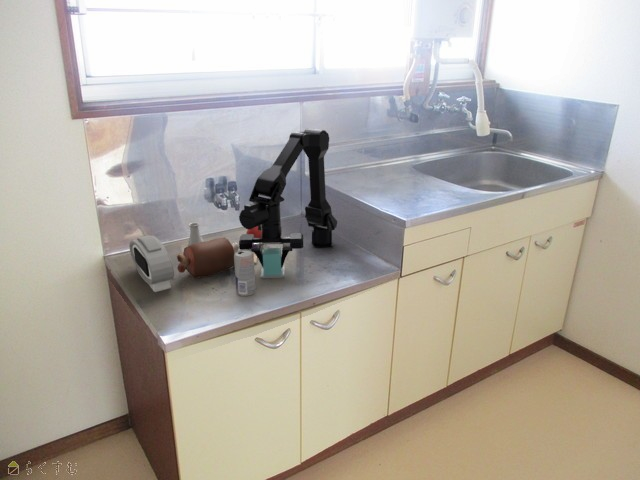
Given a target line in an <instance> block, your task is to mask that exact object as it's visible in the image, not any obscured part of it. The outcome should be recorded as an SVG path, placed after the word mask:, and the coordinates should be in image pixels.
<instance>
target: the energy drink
mask: <svg viewBox="0 0 640 480" xmlns="http://www.w3.org/2000/svg"><path fill="white" fill-rule="evenodd" d="M253 254H254V252H252V251H251V249H250V250H246V249H245V250H241V249H238V251H236V252H235V255H234V264H235V265H234V273H235V275H234V276H235V277H234V278H235V290H236V294H237V295H238V296H241V297H249V296H252V295H254V294H255V293H256V289H257V288H256V274H255V272H256V271H255V264H254V255H253Z"/></svg>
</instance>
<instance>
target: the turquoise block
mask: <svg viewBox="0 0 640 480" xmlns="http://www.w3.org/2000/svg"><path fill="white" fill-rule="evenodd" d="M262 251H263V270H264V275H281V271H282V268H281V257H282V247H281V246H280V247H278V246H277V247H263V249H262Z"/></svg>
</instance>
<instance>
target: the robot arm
mask: <svg viewBox="0 0 640 480" xmlns="http://www.w3.org/2000/svg"><path fill="white" fill-rule="evenodd" d="M329 145H330V135H329V132H327V131H326V130H324V129H315V128H306V129H304V130H303V131H293V132H291V133H290V134H289V137H288V140H287V142H286V143H285V145H284V146H283V148H282V150H281V151H280V152H279V155H278V156H277V157H276V160H275V161H274V163H273V164H272V165H271V167H269V168H268V169H267V168H266V169H265V170H264V171H262V173H261V174H260V175H259V176H258V177H257V178H256V181H255V183H254V186H253V188H252V191H251V194H250V197H249V199H248V201H249V202H251V203H246V204H244V206H243V208H244V209H242V210H241V211H240V213H239V216H238V219H239V222H240V224H241V226H242V227H243V228H244V229H246V230H248V229H253V228H255V227H257V226H258V230H261V232H262V238H254V234H246V233H245V234H244V233H242V234H241V236H240V237H239V241H238V246H239V249H238V250H245V249H246V250H251V251H252V252H253V254H256V256H257V257H258V258H257V260H258V261H259V263H260V264H261V268H262V267H263V245H282V247H281V268H282V267H283V266H284V263H285V261H286V258H287V256H288V254H289V252H293V249H303V248H304V235H303V234H302V233H299V232H294V233H292V232H291V233H289V236H283V237H282V234H283V233H282V222H281V221H282V220H281V218H282V217H281V203H282V202H284V201H285V198H284V197H283V196H282V195H283V192H284V190H285V189H286V186H287V176H288V174H289V172H290V171H291V170H292V168H293V166H294V164H295V162H296V161H297V159H298V158H299V156H300V155H301V153H302V152H304V154H305V155H306V157H307V159H308V161H307V162H308V174H309V177H308V179H309V194H310V201H309V202H308V204H307V206H304V207H305V208H304V211H305V215H304V218H305V219H306V223H307V225H308V227H310V228H313V229H311V231H310V232H311V244H312V247H313V248H327V247H328V248H332V247H333V231H335V230H336V228H337V226H338V225H337V224H338V220H337V219H336V218H335V216H334V215H333V212H332V208H331V207H332V206H331V205H330V204H329V202H328V201H327V198H326V197H327V196H326V195H327V194H326V177H325V176H326V175H325V174H326V173H325V171H326V170H325V156H326V154H327V152H328V150H329V147H330V146H329Z"/></svg>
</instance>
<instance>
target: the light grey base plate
mask: <svg viewBox="0 0 640 480" xmlns="http://www.w3.org/2000/svg"><path fill="white" fill-rule="evenodd" d="M285 267H286V266H285V265H283V267H282V271H281V275H264V270H263V267H262V266H261V270H260V272H261V273H260V279H282V278H285V270H286V268H285Z"/></svg>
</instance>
